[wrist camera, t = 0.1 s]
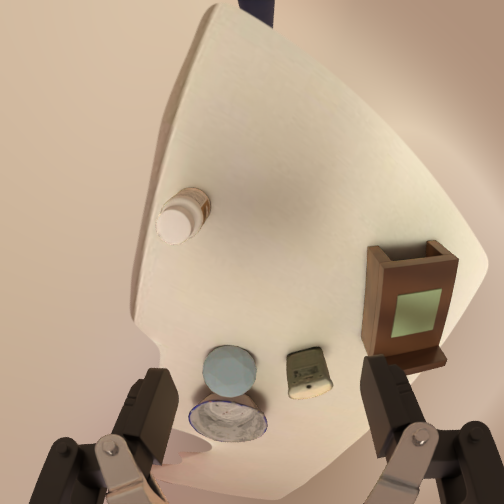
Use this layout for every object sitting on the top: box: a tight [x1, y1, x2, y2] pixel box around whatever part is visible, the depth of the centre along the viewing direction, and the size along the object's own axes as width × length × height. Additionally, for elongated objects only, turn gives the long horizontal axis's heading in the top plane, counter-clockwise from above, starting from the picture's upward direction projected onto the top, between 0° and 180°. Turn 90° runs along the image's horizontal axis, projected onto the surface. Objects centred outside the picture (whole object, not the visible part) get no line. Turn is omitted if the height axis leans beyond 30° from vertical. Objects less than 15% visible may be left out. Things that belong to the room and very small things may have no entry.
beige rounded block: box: [286, 347, 333, 399], centre depth 38 cm, size 6×5×8 cm
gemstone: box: [202, 345, 257, 397], centre depth 41 cm, size 8×8×5 cm
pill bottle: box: [156, 188, 211, 245], centre depth 30 cm, size 4×4×8 cm
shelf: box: [361, 240, 459, 375], centre depth 33 cm, size 14×10×9 cm
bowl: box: [188, 393, 268, 442], centre depth 45 cm, size 13×13×5 cm
